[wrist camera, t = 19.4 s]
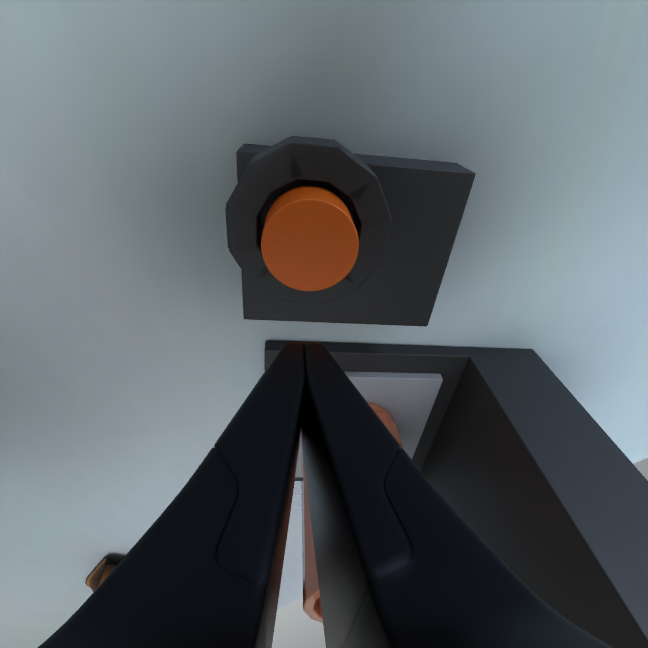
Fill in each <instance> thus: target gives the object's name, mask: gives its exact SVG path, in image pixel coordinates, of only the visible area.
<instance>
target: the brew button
mask: <svg viewBox="0 0 648 648" xmlns="http://www.w3.org/2000/svg"><path fill="white" fill-rule="evenodd" d="M358 250H359V239H358V234H357V231H356V228H355V225H354V223H353V220H352V218H351V215H350V213H349V211H348V209H347V207H346V205H345V204H344V202H343V201H342V200H341V199H340V198H339V197H338V196H336V195H335V194H334V193H332V192H331V191H329V190H326V189H324V188H321V187H316V186H300V187H296V188H293V189H291V190H288V191H287V192H285V193H283V194H282V195H281V196H279V197H278V198H277V199H276V200H275V201H274V203H273V204H272V205H271V207H270V209H269V211H268V213H267V216H266V220H265V224H264V229H263V234H262V238H261V252H262V256H263V260H264V262H265V264H266V266H267V268H268V270H269V271H270V272H271V274H272V275H273V276H274V277H275V278H276V279H277V280H279V281H280V282H281V283H283V284H284V285H286V286H288V287H290V288H293V289H296V290H301V291H319V290H323V289H326V288H329V287H331V286H333V285H335V284H337V283H338V282H340V281H341V280H342V279H343V278H345V276H346V275H347V274H348V273H349V272H350V270H351V269H352V267H353V266H354V264H355V261H356V259H357V255H358Z"/></svg>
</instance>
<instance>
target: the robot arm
mask: <svg viewBox="0 0 648 648" xmlns="http://www.w3.org/2000/svg"><path fill="white" fill-rule="evenodd" d="M300 434H301V440H302V450H303V458H304V467H305V475H306V483H307V492H308V500H309V508H310V517H311V525H312V533H313V542H314V550H315V558H316V567H317V575H318V583H319V592H320V600H321V609H322V617H323V625H324V633H325V641H326V648H613V647H611V646H610V645H608V644H606V643H605V642H603V641H601V640H599V639H598V638H596V637H594V636H593V635H591V634H589V633H588V632H586V631H584V630H582V629H581V628H579V627H578V626H576V625H574V624H573V623H571V622H570V621H569V620H567V619H566V618H564V617H563V616H561V615H560V614H559V613H557V612H556V611H555V610H554V609H552V608H551V607H550V606H549V605H547V604H546V603H545V602H544V601H542V600H541V599H540V598H539V597H538V596H537V595H536V594H535V593H534V592H532V591H531V590H530V589H529V588H528V587H527V586H526V585H525V584H524V583H523V582H522V581H521V580H520V579H519V578H518V577H517V576H516V575H515V574H514V573H513V571H512V570H511V569H510V568H509V567H508V566H507V565H506V564H505V563H504V562H503V561H502V560H501V559H500V558H499V557H498V556H497V555H496V553H495V552H494V551H493V550H492V549H491V548H490V547H489V546H488V545H487V544H486V543H485V542H484V541H483V540H482V539H481V538H480V536H479V535H478V534H477V533H476V532H475V531H474V530H473V529H472V528H471V527H470V526H469V525H468V524H467V523H466V522H465V521H464V519H463V518H462V517H461V516H460V515H459V514H458V513H457V512H456V511H455V510H454V509H453V508H452V507H451V505H450V504H449V503H448V502H447V501H446V500H445V499H444V498H443V497H442V495H441V494H440V493H439V492H438V491H437V490H436V489H435V488H434V487H433V485H432V484H431V483H430V482H429V480H428V479H427V478H426V477H425V476H424V474H423V473H422V472H421V471H420V469H419V468H418V467H417V466H416V465H415V463H414V462H413V461H412V459H411V458H410V457H409V456H408V454H407V453H406V452H405V450H404V449H403V448H400V444H399V443H398V441H397V440H396V439H395V438H394V436H393V435H392V434H391V432H390V431H389V430H388V428H387V427H386V426H385V425H384V423H383V422H382V421H381V419H380V418H379V417H378V415H377V414H376V413H375V412H374V410H373V409H372V408H371V406H370V405H369V404H368V402H367V401H366V400H365V399H364V397H363V396H362V395H361V393H360V392H359V391H358V389H357V388H356V387H355V386H354V384H353V383H352V382H351V380H350V379H349V378H348V376H347V375H346V374H345V373H344V371H343V370H342V369H341V367H340V366H339V365H338V364H337V362H336V361H335V360H334V358H333V357H332V356H331V354H330V353H329V352H328V351H327V349H326V348H325V347H324V345H323V344H321V343H312V342H306V343H305V344H304V345H303V343H302V342H286V343H285V344H284V345H283V346H282V348H281V349H280V351H279V352H278V354H277V355H276V357H275V358H274V359H273V361H272V362H271V364H270V365H269V367H268V368H267V370H266V371H265V372H264V374H263V375H262V377H261V378H260V380H259V381H258V383H257V384H256V385H255V387H254V388H253V390H252V391H251V393H250V394H249V396H248V397H247V398H246V400H245V401H244V403H243V404H242V406H241V407H240V409H239V410H238V412H237V413H236V414H235V416H234V417H233V419H232V420H231V422H230V423H229V425H228V426H227V427H226V429H225V430H224V432H223V433H222V435H221V436H220V438H219V439H218V440H217V442H216V443H215V445H214V448H212V449H211V450H210V452H209V453H208V455H207V456H206V457H205V459H204V460H203V462H202V463H201V465H200V466H199V467H198V469H197V470H196V471H195V473H194V474H193V476H192V477H191V478H190V480H189V481H188V482H187V484H186V485H185V486H184V488H183V489H182V490H181V491H180V493H179V494H178V495H177V496H176V497H175V499H174V500H173V501H172V502H171V503H170V505H169V506H168V507H167V508H166V510H165V511H164V512H163V513H162V514H161V516H160V517H159V518H158V519H157V520H156V521H155V522H154V524H153V525H152V526H151V527H150V528H149V529H148V531H147V532H146V533H145V534H144V535H143V536H142V537H141V539H140V540H139V541H138V542H137V543H136V544H135V545H134V547H133V548H132V549H131V550H130V551H129V552H128V554H127V555H126V556H125V557H124V558H123V559H122V560H121V562H120V563H119V564H118V565H117V566H116V567H115V568H114V570H113V571H112V572H111V573H110V574H109V575H108V576H107V578H106V579H105V580H104V581H103V582H102V583H101V585H100V586H99V587H98V588H97V589H96V590H95V591H94V593H93V594H92V595H91V596H90V597H89V598H88V599H87V600H86V602H85V603H84V604H83V605H82V606H81V607H80V608H79V609H78V610H77V611H76V612H75V613H74V614H73V615H72V616H71V617H70V618H69V620H68V621H67V622H66V623H65V624H64V625H62V626H61V627H60V628H59V629H58V630H57V631H56V632H55V633H54V634H53V635H52V636H50V637H49V638H48V639H47V640H46V641H45V642H44V643H42V644H41V645H40V646H39V647H38V648H271V647H272V641H273V633H274V626H275V619H276V612H277V604H278V597H279V590H280V583H281V575H282V568H283V561H284V554H285V546H286V539H287V532H288V525H289V517H290V510H291V503H292V496H293V488H294V481H295V474H296V467H297V459H298V452H299V444H300Z"/></svg>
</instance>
